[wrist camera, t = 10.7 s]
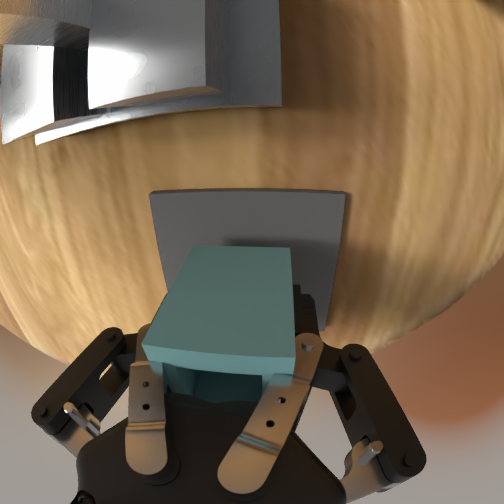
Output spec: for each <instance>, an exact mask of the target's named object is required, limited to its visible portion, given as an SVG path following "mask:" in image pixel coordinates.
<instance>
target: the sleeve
mask: <svg viewBox="0 0 504 504" xmlns="http://www.w3.org/2000/svg"><path fill="white" fill-rule="evenodd" d="M142 347H143V349H144V351H145V354H146V356H147V358H148V360H149V362H163V365H164V367H165V370H166V372H167V374H168V377H169V379H170V381H171V384H172V386H173V388H174V390H175V392H176V393H182V394H188V395H193V396H195V397H198V398H200V399H203V400H206V401H209V402H211V403H220V402H229V401H237V400H239V401H254V402H259V401H260V399H261V397H262V395H263V394H264V392H265V390H266V388H267V386H268V384H269V382H270V380H271V378H272V376H273V374H274V373H279V374H287V375H293V372H294V365H295V359H296V352H295V325H294V303H293V285H292V269H291V254H290V248H285V247H241V246H194V247H193V248H192V250H191V252H190V254H189V255H188V257H187V259H186V261H185V262H184V264H183V266H182V268H181V270H180V271H179V273H178V275H177V277H176V279H175V280H174V282H173V284H172V286H171V288H170V290H169V292H168V293H167V295H166V297H165V299H164V301H163V303H162V305H161V306H160V308H159V310H158V312H157V314H156V316H155V318H154V320H153V322H152V324H151V326H150V328H149V330H148V332H147V334H146V336H145V338H144V340H143V342H142Z"/></svg>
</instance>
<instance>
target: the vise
mask: <svg viewBox="0 0 504 504" xmlns="http://www.w3.org/2000/svg"><path fill="white" fill-rule="evenodd" d="M0 45H4V46H3V54H2V65H1V75H0V114H1V131H2V141H3V145H4V144H7V143H10V142H13V141H16V140H19V139H23V138H26V137H29V136H33V135H35V142H36V145H39V144H42V143H45V142H49V141H52V140H56V139H59V138H63V137H67V136H70V135H73V134H77V133H80V132H84V131H87V130H91V129H95V128H99V127H103V126H107V125H111V124H116V123H120V122H125V121H130V120H135V119H140V118H146V117H152V116H158V115H165V114H172V113H179V112H188V111H197V110H208V109H222V108H242V107H281V106H282V78H281V42H280V17H279V0H0Z"/></svg>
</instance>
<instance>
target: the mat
mask: <svg viewBox="0 0 504 504" xmlns="http://www.w3.org/2000/svg"><path fill="white" fill-rule="evenodd" d="M345 195H346V194H345V193H344V192H343V191H328V190H306V189H266V188H226V189H187V190H165V191H153V192H151V193H150V194H149V198H150V204H151V210H152V216H153V222H154V228H155V233H156V239H157V244H158V249H159V254H160V259H161V264H162V268H163V273H164V277H165V282H166V286H167V290H168V292H169V290H170V288H171V286H172V284H173V282H174V280H175V279H176V277H177V275H178V273H179V271H180V270H181V268H182V266H183V264H184V262H185V261H186V259H187V257H188V255H189V254H190V252H191V250H192V248H193V247H194V246H241V247H285V248H290V254H291V269H292V284H300V287H301V294H310V295H311V296H312V298H313V299H314V300H315V306H316V315H317V320H318V328H319V331H324V330H325V325H326V320H327V315H328V310H329V305H330V300H331V295H332V289H333V284H334V278H335V272H336V266H337V259H338V252H339V245H340V238H341V231H342V222H343V214H344V205H345Z"/></svg>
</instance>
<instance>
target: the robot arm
mask: <svg viewBox="0 0 504 504" xmlns="http://www.w3.org/2000/svg"><path fill="white" fill-rule="evenodd" d="M292 285H293V303H294V325H295V352H296V359H295V365H294V372H293V375H287V374H279V373H274V374H273V376H272V378H271V380H270V382H269V384H268V386H267V388H266V390H265V392H264V394H263V395H262V397H261V399H260V401H259V402H254V401H239V400H237V401H229V402H220V403H211V402H209V401H206V400H203V399H200V398H198V397H195V396H193V395H188V394H182V393H176V392H175V390H174V388H173V386H172V384H171V381H170V379H169V377H168V374H167V372H166V370H165V367H164V365H163V362H149V360H148V358H147V356H146V354H145V351H144V349H143V347H142V342H143V340H144V338H145V336H146V334H147V332H148V330H149V328H150V326H151V324H152V322H153V320H154V318H155V316H156V314H157V313H156V314H155V316H154V318H153V320H152V322H151V323H149V324H146V325H144V326H143V327H141V328H140V329H139V331H138V333H135V334H127V335H124V334H123V332H122V330H121V329H119V328H116V327H111V328H107V329H105V330H104V331H102V332H101V333H100V334H99V335H98V336H97V337H96V338H95V339H94V341H93V342H92V343H91V344H90V345H89V346H88V347H87V348H86V349H85V350H84V351H83V352H82V353H81V354H80V355H79V356H78V357H77V358H76V359H75V360H74V361H73V362H72V364H71V365H70V366H69V367H68V368H67V369H66V370H65V371H64V372H63V373H62V374H61V376H59V378H58V379H57V380H56V381H55V382H54V383H53V384H52V385H51V386H50V388H49V389H48V390H47V391H46V392H45V393H44V394H43V395H42V397H41V398H40V399H39V400H38V401H37V402H36V403H35V405H34V406H33V408H32V411H31V415H32V419H33V421H34V422H35V423H36V424H37V425H38V426H39V427H41V428H42V429H43V430H44V432H45V433H47V434H48V435H49V436H50V437H52V438H53V439H54V440H55V441H57V442H58V443H60V444H61V445H63V446H64V447H65V448H66V449H67V450H69V451H70V452H71V453H72V454H73V455H74V456H75V457H77V460H76V467H77V473H78V492H77V495H76V497H75V498H74V500H73V501H72V502H71V503H70V504H346V503H349V502H352V501H355V500H357V499H360V498H362V497H365V496H367V495H369V494H372V493H374V492H385V491H387V490H389V489H391V488H393V487H395V486H397V485H399V484H401V483H403V482H405V481H406V480H408V479H410V478H412V477H413V476H415V475H417V474H418V473H420V472H421V471H422V470H423V468H424V466H425V464H426V454H425V452H424V450H423V448H422V446H421V444H420V442H419V440H418V438H417V436H416V434H415V432H414V430H413V428H412V426H411V425H410V423H409V421H408V419H407V417H406V415H405V413H404V412H403V410H402V408H401V406H400V405H399V403H398V401H397V399H396V397H395V396H394V394H393V392H392V390H391V388H390V387H389V385H388V383H387V381H386V380H385V378H384V376H383V375H382V373H381V371H380V369H379V368H378V366H377V364H376V363H375V361H374V359H373V358H372V356H371V354H370V353H369V351H368V350H367V349H366V348H365V347H364V346H362V345H359V344H349V345H346V346H345V347H343V348H342V349H338V348H334V347H331V346H328V345H327V344H325V343H324V342H323V341H322V339H321V338H320V335H319V328H318V320H317V315H316V306H315V300H314V299H313V298H312V296H311V295H310V294H301V287H300V284H292ZM166 295H167V294H166ZM165 297H166V296H165ZM165 297H164V299H165ZM164 299H163V301H164ZM163 301H162V303H163ZM162 303H161V305H162ZM159 308H160V307H159ZM158 310H159V309H158ZM157 312H158V311H157ZM110 363H111V364H112V366H111V367H110V368H109V369H108V371H107V372H106V373H105V374H104V375H103V376H102V378H101V379H100V380H99V378H100V375H101V374H102V372H103V371H104V370H105V369H106V368H107V367H108V365H109V364H110ZM128 386H129V406H128V409H129V410H128V417H127V418H126V419H124V420H122V421H121V422H119V423H118V424H116V425H115V426H113V427H112V428H110V429H108V430H107V431H105V432H103V433H102V434H100V422H101V421H102V420H103V419H104V417H105V416H106V415H107V413H108V412H109V411H110V409H111V408H112V407H113V406H114V404H115V403H116V402H117V400H118V399H119V398H120V396H121V395H122V394H123V393H124V391H125V390H126V389H127V388H128ZM312 387H316V388H320V389H324V390H328V391H329V392H330V395H331V397H332V399H333V402H334V404H335V407H336V409H337V411H338V414H339V416H340V419H341V421H342V423H343V426H344V428H345V431H346V433H347V436H348V438H349V441H350V443H351V445H352V449H351V450H350V452H349V453H348V454H347V455H346V457H345V460H344V465H345V474H344V476H343V478H342V479H340V480H339V479H338V478H337V477H336V476H335V475H334V474H333V473H332V472H331V471H330V470H329V469H328V468H327V467H326V466H325V465H324V464H323V463H322V462H321V461H320V460H319V459H318V457H316V455H315V454H314V453H313V452H312V451H311V450H310V449H309V448H308V447H307V445H306V444H305V443H304V442H303V441H302V440H301V439H300V438H299V436H298V435H297V434H296V433H295V431H296V428H297V426H298V423H299V421H300V418H301V415H302V413H303V410H304V407H305V405H306V402H307V400H308V397H309V395H310V392H311V389H312Z"/></svg>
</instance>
